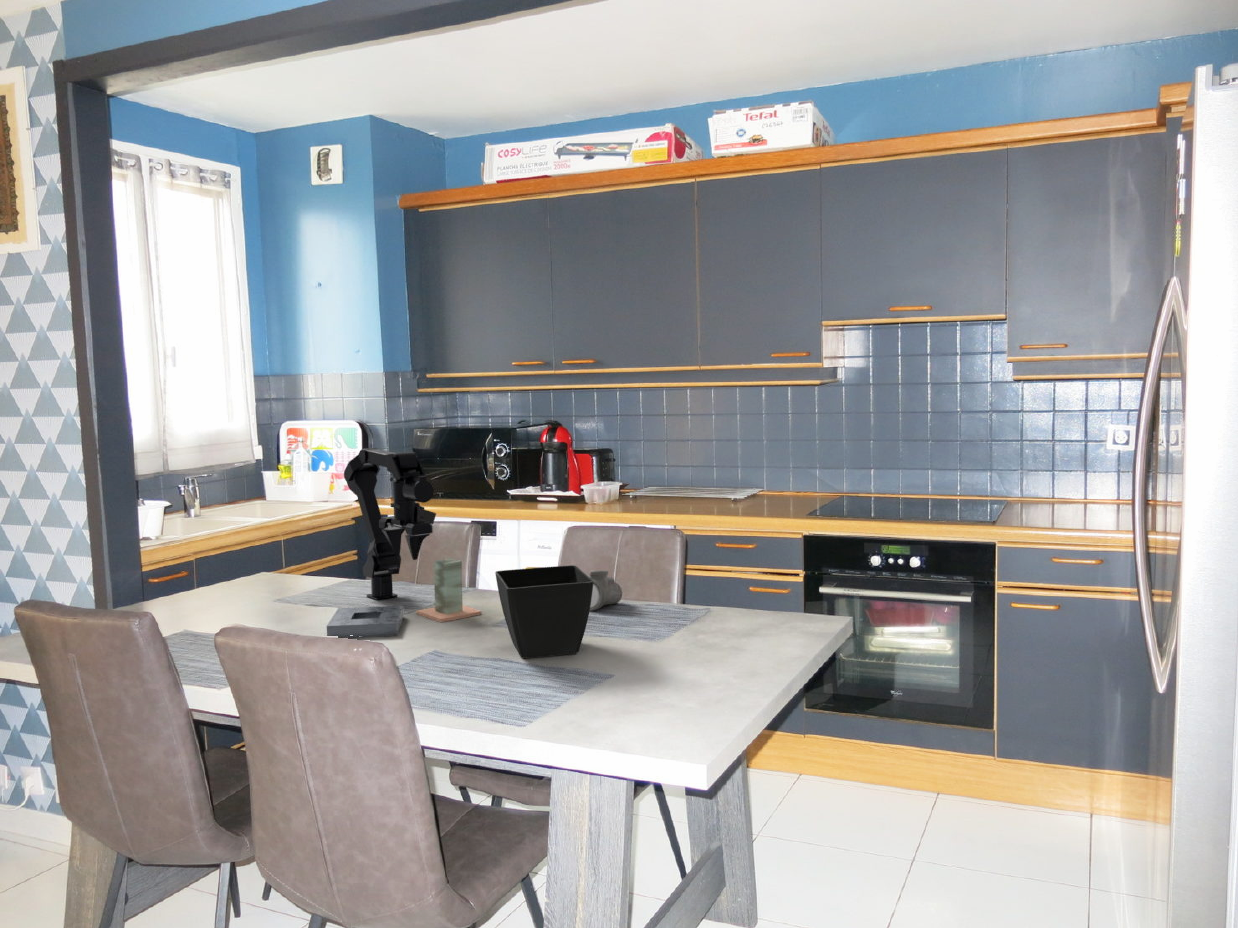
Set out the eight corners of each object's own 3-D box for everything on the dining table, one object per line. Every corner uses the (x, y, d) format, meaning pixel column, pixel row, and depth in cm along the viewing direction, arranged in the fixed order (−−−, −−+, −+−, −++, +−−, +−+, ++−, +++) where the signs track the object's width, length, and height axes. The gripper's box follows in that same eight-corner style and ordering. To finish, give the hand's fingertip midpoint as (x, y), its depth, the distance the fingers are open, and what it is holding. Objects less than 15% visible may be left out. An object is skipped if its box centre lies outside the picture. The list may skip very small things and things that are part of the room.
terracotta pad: (416, 613, 251) (416, 610, 251) (456, 606, 259) (456, 603, 259) (441, 622, 242) (441, 619, 242) (481, 614, 250) (481, 611, 250)
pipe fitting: (599, 612, 250) (599, 571, 250) (575, 610, 255) (575, 570, 255) (628, 608, 259) (627, 569, 260) (604, 606, 264) (604, 568, 265)
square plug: (435, 611, 250) (433, 561, 249) (450, 607, 254) (449, 558, 253) (446, 614, 247) (445, 563, 246) (462, 610, 251) (461, 560, 249)
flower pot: (508, 665, 206) (507, 586, 204) (495, 641, 224) (494, 569, 222) (595, 657, 211) (595, 581, 209) (576, 635, 229) (575, 564, 227)
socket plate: (338, 619, 245) (338, 608, 245) (403, 617, 247) (403, 605, 247) (327, 638, 228) (326, 625, 227) (396, 635, 230) (396, 623, 229)
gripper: (449, 499, 256) (451, 558, 258) (413, 493, 270) (415, 549, 272) (412, 503, 249) (413, 563, 250) (377, 497, 263) (378, 554, 264)
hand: (406, 557), depth 259 cm, fingers open, 9 cm apart
